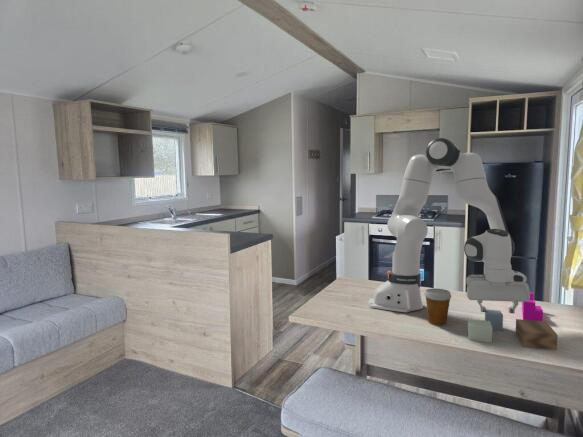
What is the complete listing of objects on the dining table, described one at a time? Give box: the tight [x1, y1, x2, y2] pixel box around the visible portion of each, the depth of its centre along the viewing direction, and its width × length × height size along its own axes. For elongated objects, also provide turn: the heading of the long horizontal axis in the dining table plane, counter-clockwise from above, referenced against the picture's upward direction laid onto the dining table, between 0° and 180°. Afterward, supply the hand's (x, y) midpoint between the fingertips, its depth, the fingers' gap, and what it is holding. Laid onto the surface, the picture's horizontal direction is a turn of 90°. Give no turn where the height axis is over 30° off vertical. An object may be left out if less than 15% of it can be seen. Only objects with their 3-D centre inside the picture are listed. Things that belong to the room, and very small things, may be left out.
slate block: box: [484, 309, 504, 332], centre depth 144 cm, size 5×5×6 cm
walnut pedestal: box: [515, 318, 558, 351], centre depth 132 cm, size 9×12×5 cm
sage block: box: [467, 318, 493, 343], centre depth 136 cm, size 7×7×5 cm
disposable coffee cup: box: [424, 287, 452, 326], centre depth 150 cm, size 10×10×12 cm
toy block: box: [521, 291, 544, 321], centre depth 157 cm, size 15×6×8 cm, turn 152°
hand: (497, 312), depth 144 cm, fingers open, 8 cm apart
